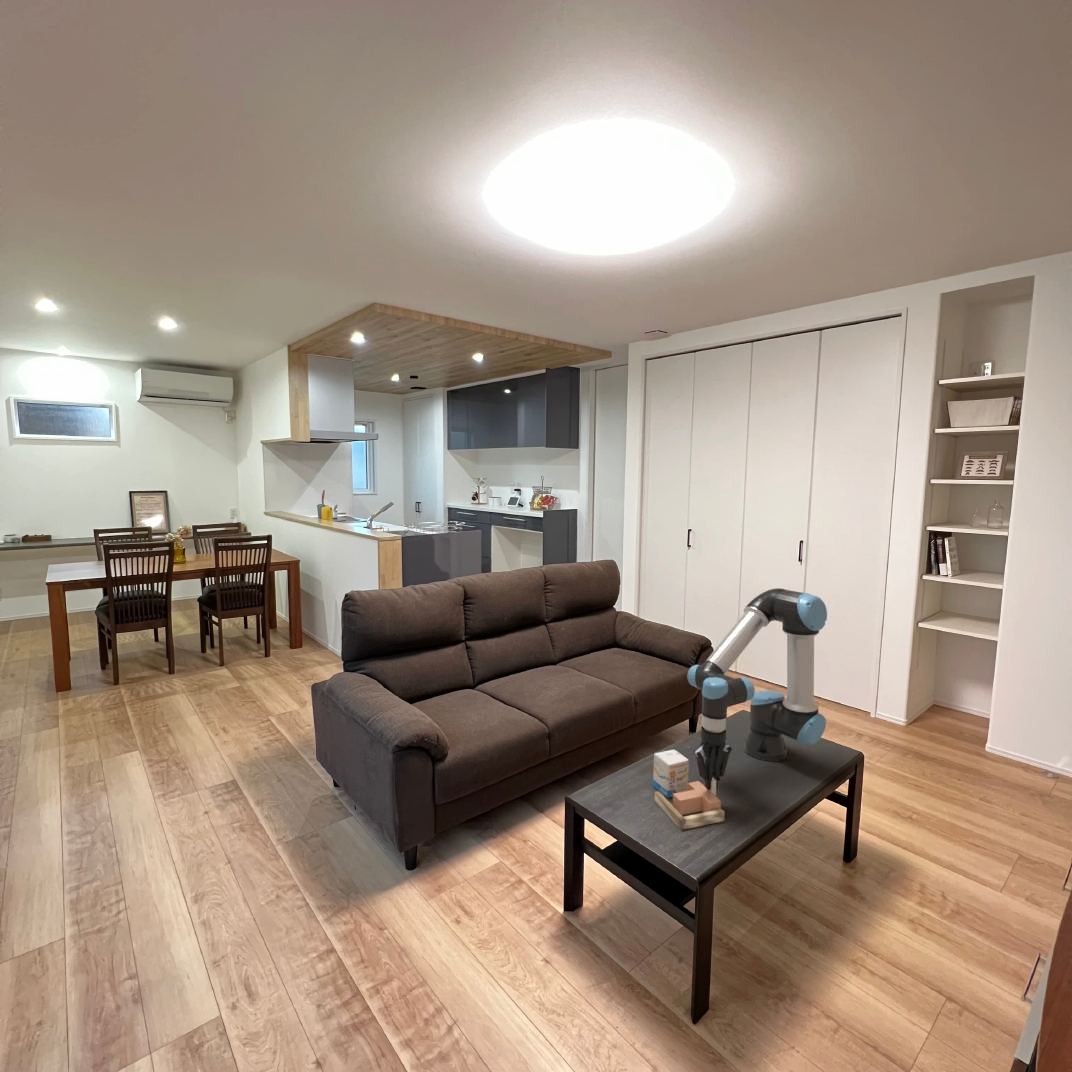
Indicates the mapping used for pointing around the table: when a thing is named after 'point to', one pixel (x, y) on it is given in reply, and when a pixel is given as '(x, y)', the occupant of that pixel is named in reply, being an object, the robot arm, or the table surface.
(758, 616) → the robot arm
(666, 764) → the ink box
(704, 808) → the t block
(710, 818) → the corner fence
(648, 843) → the table surface
